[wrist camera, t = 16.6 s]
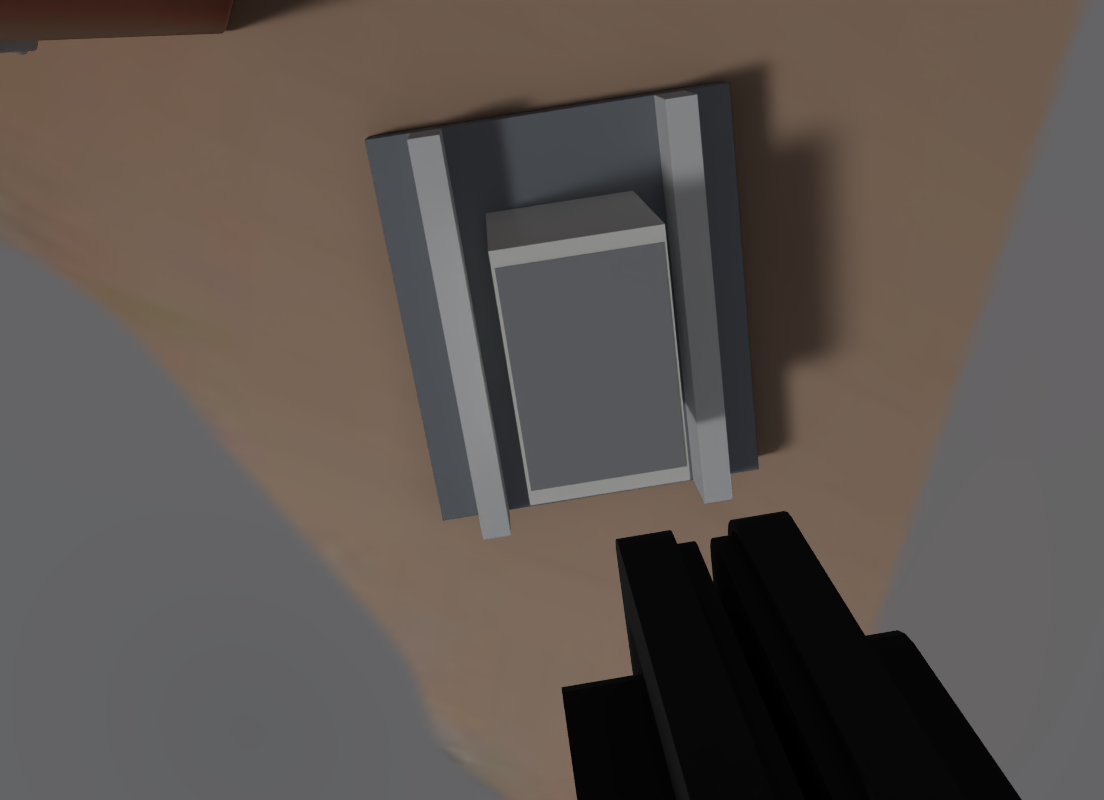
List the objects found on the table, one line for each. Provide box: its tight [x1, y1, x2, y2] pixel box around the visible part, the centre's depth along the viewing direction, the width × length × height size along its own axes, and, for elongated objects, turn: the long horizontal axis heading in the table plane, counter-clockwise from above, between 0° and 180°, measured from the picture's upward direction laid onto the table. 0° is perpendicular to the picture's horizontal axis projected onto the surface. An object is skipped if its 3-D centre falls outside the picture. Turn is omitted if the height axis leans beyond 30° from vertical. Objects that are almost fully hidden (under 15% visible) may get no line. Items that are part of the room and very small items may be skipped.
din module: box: [486, 191, 690, 505], centre depth 32 cm, size 8×5×6 cm, turn 8°
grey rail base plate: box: [365, 82, 759, 540], centre depth 35 cm, size 14×12×3 cm
